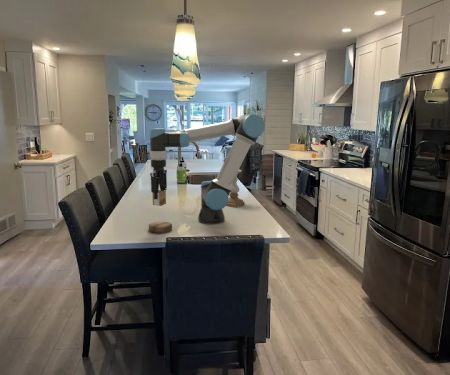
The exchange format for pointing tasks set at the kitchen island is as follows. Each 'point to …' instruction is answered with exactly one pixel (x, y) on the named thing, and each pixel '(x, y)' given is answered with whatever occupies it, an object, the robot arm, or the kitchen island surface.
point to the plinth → (160, 227)
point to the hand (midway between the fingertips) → (159, 203)
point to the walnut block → (161, 197)
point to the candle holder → (235, 194)
